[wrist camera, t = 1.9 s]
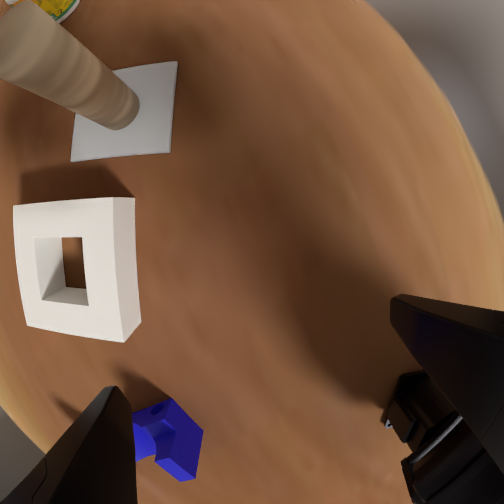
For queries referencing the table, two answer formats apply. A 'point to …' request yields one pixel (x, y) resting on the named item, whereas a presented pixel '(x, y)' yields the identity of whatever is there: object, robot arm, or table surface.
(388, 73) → the table surface
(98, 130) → the mat
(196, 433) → the cable clip
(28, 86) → the peg
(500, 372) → the robot arm
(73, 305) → the block
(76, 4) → the supplement bottle
